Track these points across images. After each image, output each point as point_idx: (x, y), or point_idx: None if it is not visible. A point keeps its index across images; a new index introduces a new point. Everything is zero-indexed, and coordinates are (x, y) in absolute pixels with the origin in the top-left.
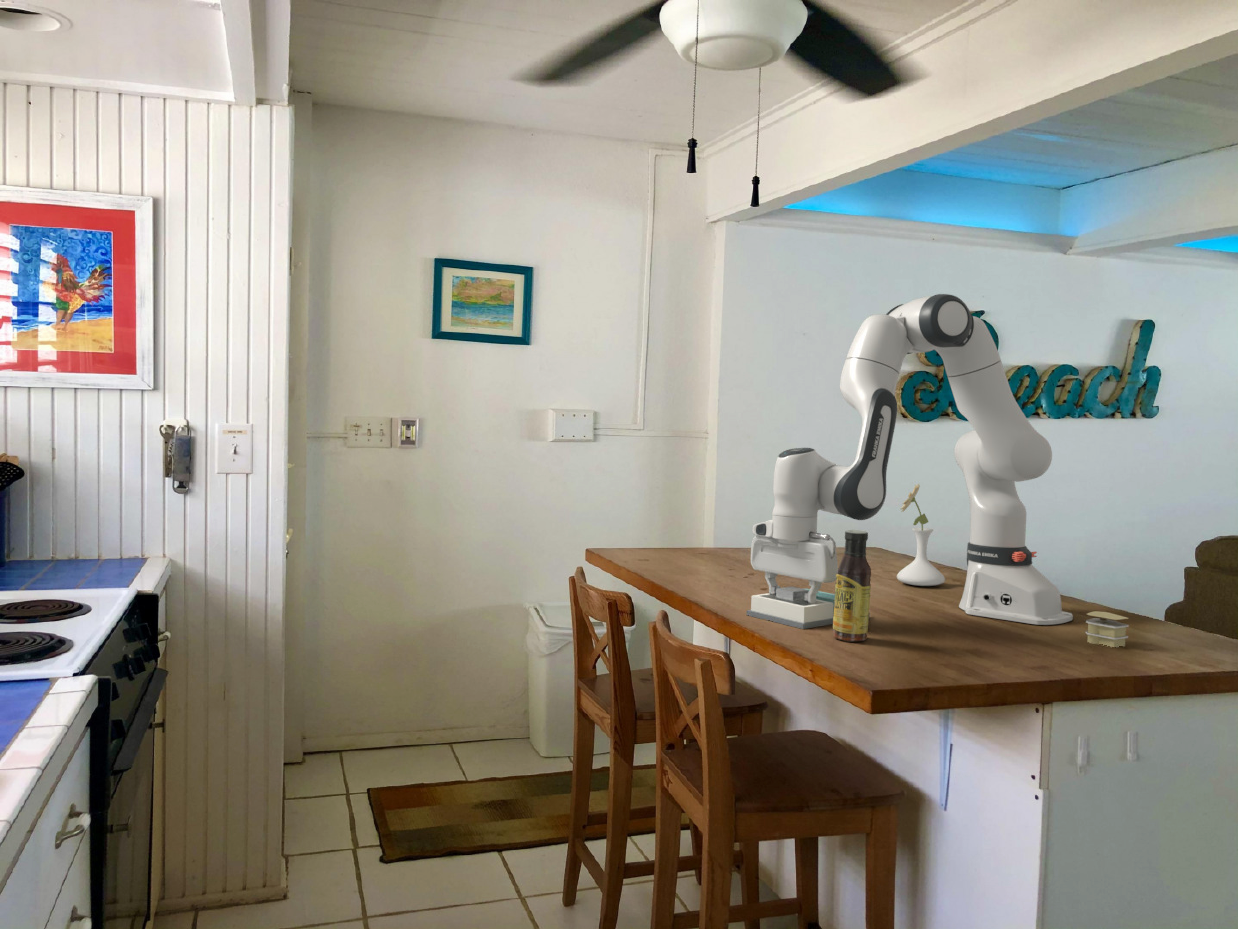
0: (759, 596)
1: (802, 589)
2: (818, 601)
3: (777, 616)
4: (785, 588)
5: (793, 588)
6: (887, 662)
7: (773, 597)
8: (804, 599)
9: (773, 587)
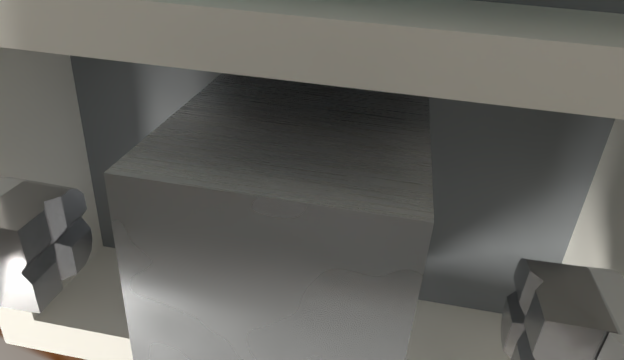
0: (59, 335)
1: (350, 255)
2: (566, 111)
3: None
4: (182, 336)
5: (230, 276)
6: None
7: (13, 136)
8: (503, 348)
9: (28, 306)
